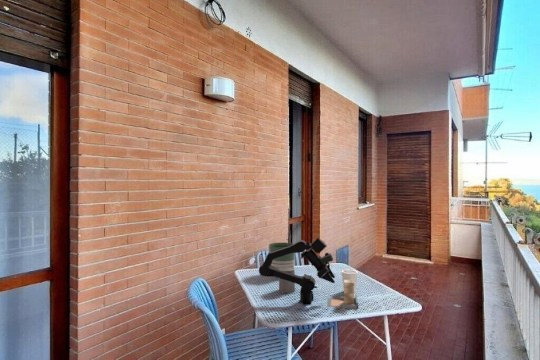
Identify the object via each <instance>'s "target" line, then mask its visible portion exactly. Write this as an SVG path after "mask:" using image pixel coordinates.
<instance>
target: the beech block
mask: <svg viewBox="0 0 540 360" xmlns="http://www.w3.org/2000/svg"><path fill="white" fill-rule="evenodd" d="M343 297H344V304H351V305H354V298H355V293H354V280H344V287H343Z"/></svg>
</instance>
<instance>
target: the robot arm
mask: <svg viewBox="0 0 540 360" xmlns="http://www.w3.org/2000/svg"><path fill="white" fill-rule="evenodd" d="M292 244H293V245H291V246H288V247H285V248H282V249H279V250H276V251H273V252H270V253H269V252H268V253H267V254H266V257H265V260H264V261H263V263H262V265H260V266H259V267H258V274H259V275H260V276H262V277H268V278H269V277H270V278H271V277H274V278H277V279H279V278H280V279H283V280H287V281H290V282H293V283H295V285H298V286H300V291H299V300H298V302H299V303H301V304H302V305H304V306H306V305H311V304H312V302H314V292H313V290H314V289H315V287H316V280H315V278H314V277H313V276H312V275H308V274H306V273H304V274H303V276H302V275H298V274H291V273H288V272H285V271H282V270H279V269H276V268H275V267H273V266H272V265H271V264H272V261H273V259H275V258H278V257H281V256H284V255H287V254H290V253H295V254H298V253H300V259H304V258H305V259H307V261H308V262H309V263H310V266H311V267H314V268H315V269H316V272H317V273H316V276H317V277H318V278H319V279H321V280H325V281H327V282H330V283H331V284H334V283H336V281H335V280H334V279H335V278H336V276H335V274H334V272H333V271H332V269H331V268H330V265H331V263H330V262H333V261H334V258H333V255H332V254H331V253H329V252H325V253H324V255H323V256H321V255H318V254H321V252H322V251H324V250H325V248H327V247H328V246H327V244H326V243H325V242H324V240H322V239H320V237H316V239H314V241H313V242H306V241H305V240H304V239H300V240H298V241H296V242H294V243H292Z"/></svg>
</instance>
